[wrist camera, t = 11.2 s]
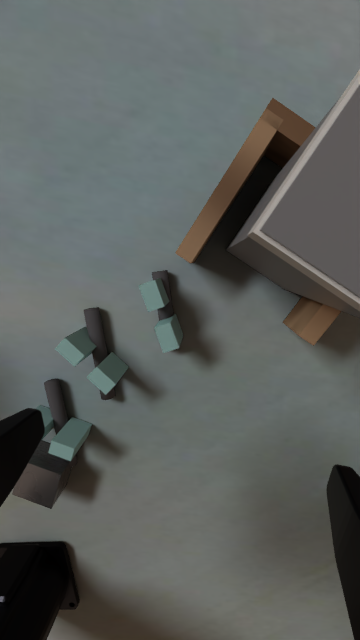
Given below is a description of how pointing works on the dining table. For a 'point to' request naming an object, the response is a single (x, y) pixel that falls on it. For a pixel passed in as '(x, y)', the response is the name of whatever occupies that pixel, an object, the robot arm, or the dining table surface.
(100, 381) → the cable clips
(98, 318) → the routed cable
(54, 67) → the dining table surface
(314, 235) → the tall grey box
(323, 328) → the end holder
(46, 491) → the brown grey short block
